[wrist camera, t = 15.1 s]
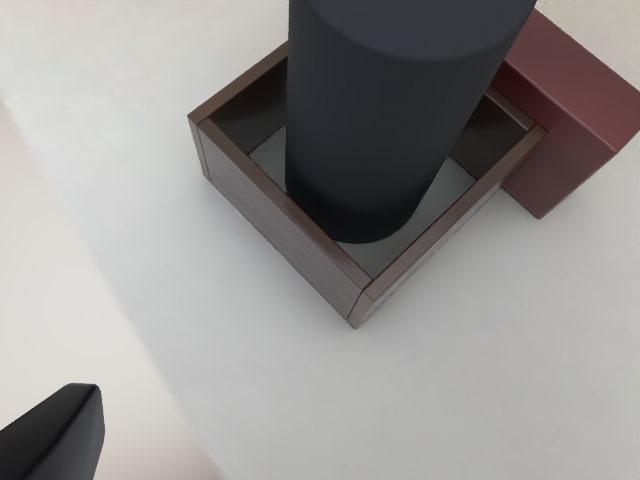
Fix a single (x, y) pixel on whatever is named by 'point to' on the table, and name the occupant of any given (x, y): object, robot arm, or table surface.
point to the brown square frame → (469, 151)
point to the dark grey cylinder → (384, 101)
